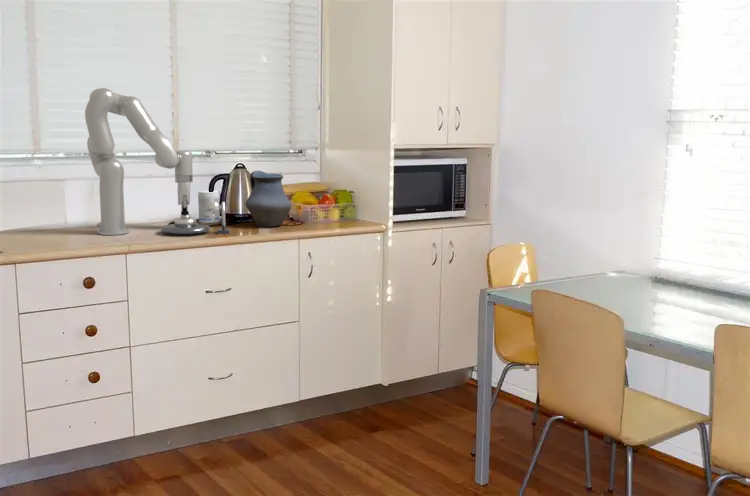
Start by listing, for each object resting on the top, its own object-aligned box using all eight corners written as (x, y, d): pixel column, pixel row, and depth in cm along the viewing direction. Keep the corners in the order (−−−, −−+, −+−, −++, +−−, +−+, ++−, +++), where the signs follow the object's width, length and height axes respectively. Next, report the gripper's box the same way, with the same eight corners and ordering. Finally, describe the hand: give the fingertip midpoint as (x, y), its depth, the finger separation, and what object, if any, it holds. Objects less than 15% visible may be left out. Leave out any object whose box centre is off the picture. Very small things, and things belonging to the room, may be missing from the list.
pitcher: (266, 230, 336) (265, 174, 331) (234, 225, 350) (233, 171, 345) (300, 226, 351) (300, 171, 347) (268, 221, 365) (268, 169, 361)
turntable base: (168, 233, 324) (168, 231, 324) (185, 230, 333) (185, 228, 333) (186, 235, 320) (186, 233, 319) (202, 232, 328) (202, 230, 328)
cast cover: (170, 225, 327) (170, 215, 327) (185, 223, 335) (185, 212, 334) (185, 227, 323) (185, 216, 322) (200, 225, 331) (200, 214, 330)
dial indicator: (230, 232, 331) (229, 201, 328) (229, 233, 326) (228, 202, 324) (209, 232, 330) (208, 201, 327) (208, 233, 325) (207, 202, 323)
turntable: (151, 231, 322) (151, 227, 322) (185, 225, 339) (185, 221, 339) (186, 235, 313) (186, 231, 312) (219, 229, 330) (219, 225, 329)
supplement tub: (213, 220, 365) (213, 189, 363) (223, 222, 358) (222, 191, 356) (195, 221, 359) (194, 190, 357) (204, 224, 352) (203, 192, 349)
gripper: (174, 177, 341) (176, 218, 344) (175, 180, 326) (176, 223, 330) (192, 177, 343) (193, 217, 346) (193, 180, 328) (194, 222, 332)
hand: (185, 220), depth 338 cm, fingers closed
